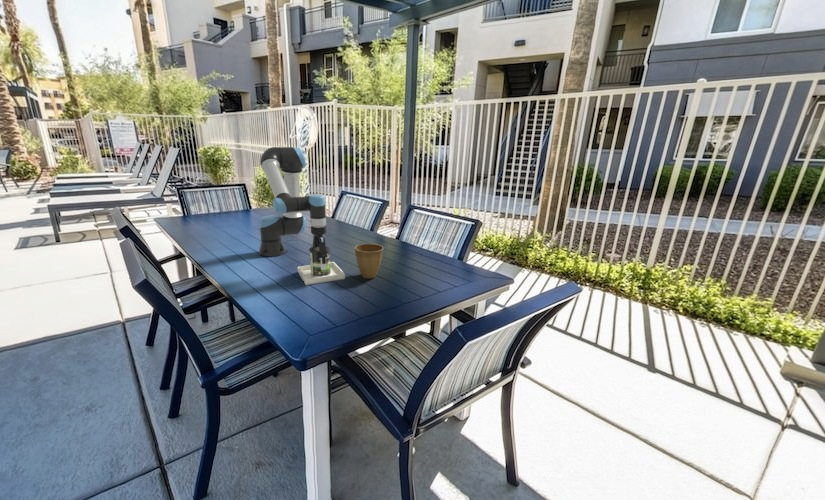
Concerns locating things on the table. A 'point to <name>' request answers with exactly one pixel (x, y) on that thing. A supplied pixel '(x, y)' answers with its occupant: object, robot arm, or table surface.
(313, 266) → the coffee can
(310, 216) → the robot arm
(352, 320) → the table surface
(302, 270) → the tray
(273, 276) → the table surface
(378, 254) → the plant pot
